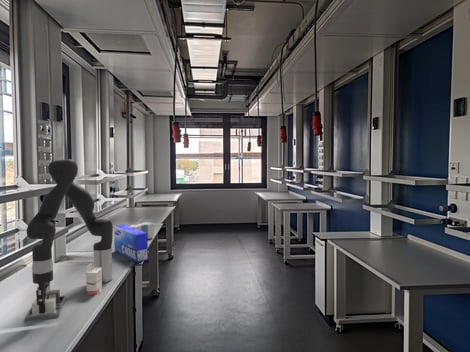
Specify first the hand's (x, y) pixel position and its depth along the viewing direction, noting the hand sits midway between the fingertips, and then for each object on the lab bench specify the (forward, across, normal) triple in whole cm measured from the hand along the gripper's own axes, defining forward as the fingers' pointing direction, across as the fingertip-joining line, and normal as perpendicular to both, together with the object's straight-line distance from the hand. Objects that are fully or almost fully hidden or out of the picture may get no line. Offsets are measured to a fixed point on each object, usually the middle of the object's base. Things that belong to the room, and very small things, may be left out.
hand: (44, 309), depth 147 cm
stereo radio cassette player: (+4, -135, +46) cm, 142 cm away
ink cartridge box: (+4, -21, +18) cm, 28 cm away
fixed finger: (+2, -11, 0) cm, 11 cm away
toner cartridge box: (+4, -89, +36) cm, 96 cm away
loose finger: (+2, 0, 0) cm, 2 cm away
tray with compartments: (+3, -5, 0) cm, 6 cm away
